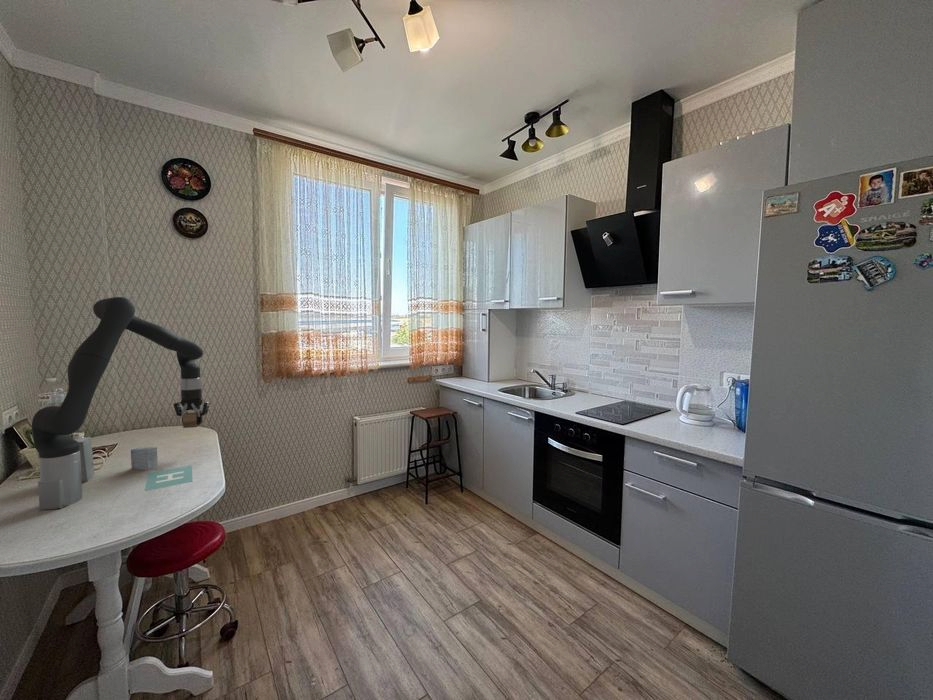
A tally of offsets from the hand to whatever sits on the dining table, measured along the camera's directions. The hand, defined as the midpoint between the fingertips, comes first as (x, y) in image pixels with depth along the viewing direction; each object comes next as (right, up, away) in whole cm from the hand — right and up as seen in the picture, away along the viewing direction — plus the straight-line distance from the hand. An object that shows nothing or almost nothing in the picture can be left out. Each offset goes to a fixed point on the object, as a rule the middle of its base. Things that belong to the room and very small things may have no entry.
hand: (192, 424), depth 165 cm
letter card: (+7, -17, -21) cm, 28 cm away
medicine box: (-11, -16, -12) cm, 23 cm away
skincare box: (-26, -17, -24) cm, 39 cm away
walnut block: (0, -1, 0) cm, 1 cm away
